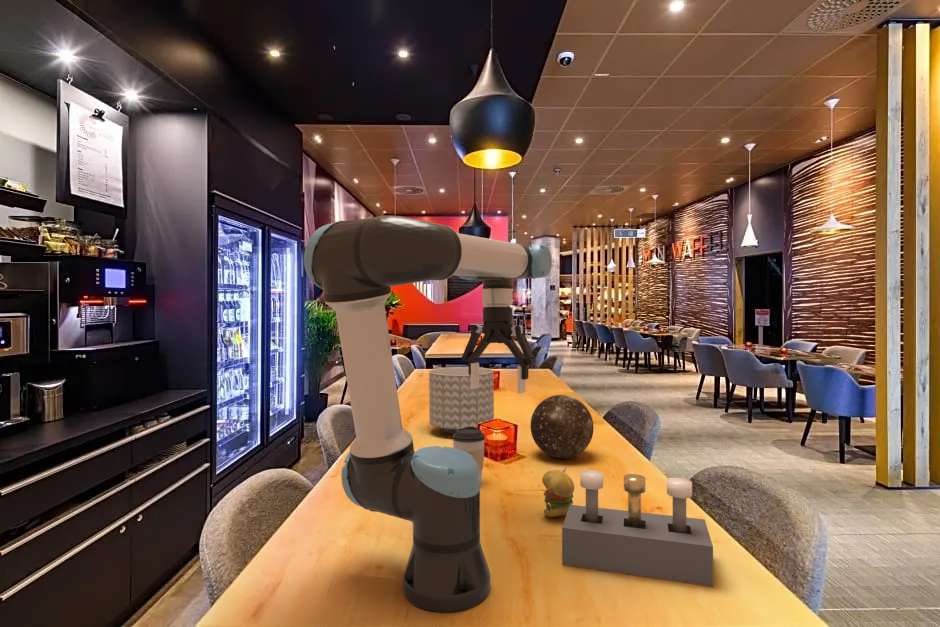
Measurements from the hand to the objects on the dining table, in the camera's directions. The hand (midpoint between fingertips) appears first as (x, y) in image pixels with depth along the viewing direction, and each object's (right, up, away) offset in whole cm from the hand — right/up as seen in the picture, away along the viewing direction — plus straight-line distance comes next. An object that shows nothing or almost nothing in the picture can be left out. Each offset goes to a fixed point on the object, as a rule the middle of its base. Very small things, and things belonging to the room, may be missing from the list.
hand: (497, 390), depth 131 cm
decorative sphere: (+23, -27, +37) cm, 51 cm away
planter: (-10, -27, +72) cm, 77 cm away
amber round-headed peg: (+25, -22, -31) cm, 45 cm away
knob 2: (+32, -22, -34) cm, 51 cm away
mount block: (+25, -28, -31) cm, 49 cm away
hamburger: (+14, -28, -11) cm, 33 cm away
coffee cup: (-7, -28, +13) cm, 31 cm away
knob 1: (+17, -22, -29) cm, 40 cm away
